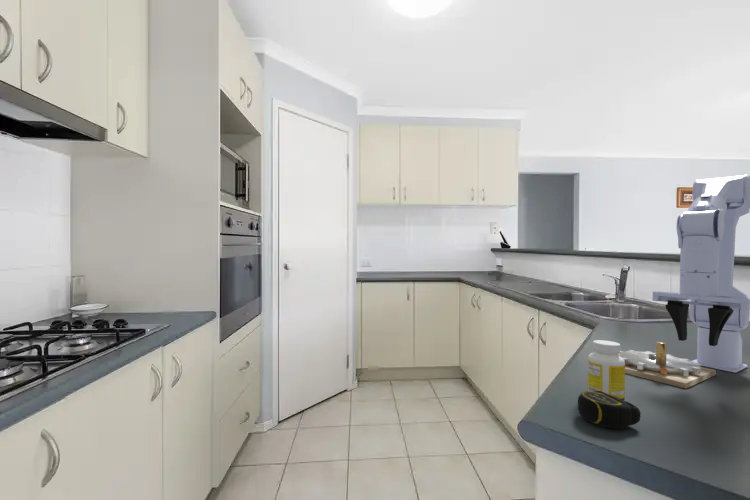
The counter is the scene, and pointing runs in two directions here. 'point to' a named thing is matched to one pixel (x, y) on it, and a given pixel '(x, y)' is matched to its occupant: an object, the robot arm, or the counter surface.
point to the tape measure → (607, 410)
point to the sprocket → (660, 361)
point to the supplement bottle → (606, 369)
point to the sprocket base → (672, 376)
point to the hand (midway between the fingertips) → (697, 342)
